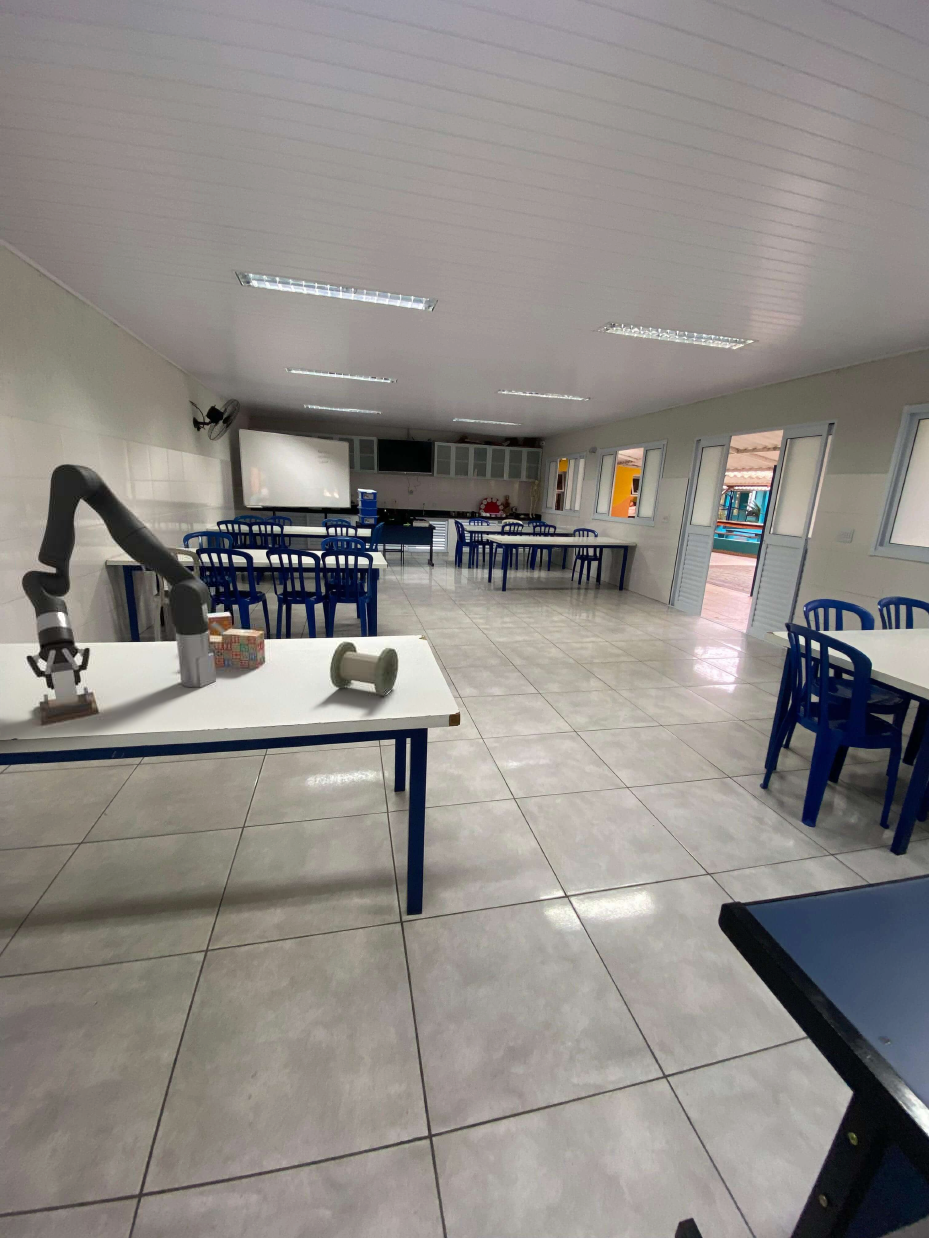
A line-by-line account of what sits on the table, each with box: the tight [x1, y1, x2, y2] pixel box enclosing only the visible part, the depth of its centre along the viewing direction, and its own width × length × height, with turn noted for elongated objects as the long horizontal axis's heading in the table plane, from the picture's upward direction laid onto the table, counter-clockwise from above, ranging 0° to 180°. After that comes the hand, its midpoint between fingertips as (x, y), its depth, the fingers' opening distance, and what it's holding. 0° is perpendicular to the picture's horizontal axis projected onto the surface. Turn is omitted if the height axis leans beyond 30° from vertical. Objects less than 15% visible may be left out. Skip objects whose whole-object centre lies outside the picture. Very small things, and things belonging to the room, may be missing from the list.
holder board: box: [38, 686, 100, 726], centre depth 133 cm, size 14×12×3 cm
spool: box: [329, 641, 399, 697], centre depth 156 cm, size 16×15×15 cm
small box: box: [205, 611, 233, 636], centre depth 188 cm, size 8×6×13 cm
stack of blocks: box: [210, 628, 266, 670], centre depth 171 cm, size 21×6×12 cm, turn 88°
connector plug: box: [50, 662, 78, 704], centre depth 131 cm, size 4×4×10 cm
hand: (64, 686), depth 130 cm, fingers closed on connector plug, 4 cm apart
